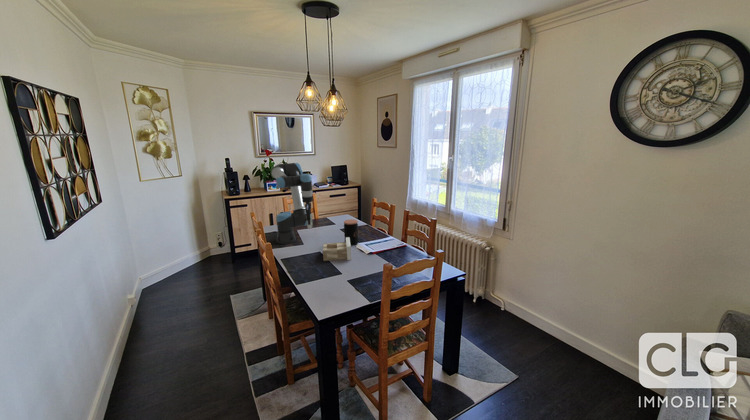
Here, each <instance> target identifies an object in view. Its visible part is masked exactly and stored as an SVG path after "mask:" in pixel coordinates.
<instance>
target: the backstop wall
mask: <svg viewBox="0 0 750 420" xmlns="http://www.w3.org/2000/svg"><path fill="white" fill-rule="evenodd" d="M346 247H347V259H346V260H347V261H352V245H351V244H350V237H346Z"/></svg>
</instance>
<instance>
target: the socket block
mask: <svg viewBox="0 0 750 420" xmlns="http://www.w3.org/2000/svg"><path fill="white" fill-rule="evenodd" d="M322 257H323V258H322V259H323V262H327V261H340V260H347V247H346V242H345V241H343V242H341V241H340V242H329V243H323V247H322Z"/></svg>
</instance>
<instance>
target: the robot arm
mask: <svg viewBox="0 0 750 420" xmlns="http://www.w3.org/2000/svg"><path fill="white" fill-rule="evenodd" d="M270 173H271V176H272V177H273V179H275V183H276V184H275V185H276V187H277V189H284V188H290V193H291V199H292V202H293V210H292V212H291V211H288V210H287V211H282V212H280V213H278V214H276V216H275V219H276V220H275V221H276V226H277V227H276V228H277V236H276V243H277V244H279V245H287V244H292V243H294V242H296V240H297V237H296V234H295V232H294V229H293V228H299V227H305V226H306V227H307V226H308V228H307V229H309V230H311V229H313V228H312V226H311V217H310V214H312V202H314V196H313V182H312V175H311V173H303V169H302V165H301V164H300V163H299V162H292V163H291V162H289V163H277V164H276V165H275V166H274V165H273V167H272V169H271V171H270ZM306 217H307V219H306Z"/></svg>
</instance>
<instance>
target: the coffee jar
mask: <svg viewBox="0 0 750 420" xmlns="http://www.w3.org/2000/svg"><path fill="white" fill-rule="evenodd" d="M343 232H344V233H343V234H344V242H346V237H350V244H351V246H357V245H358V244H359V243H360V242H359V224H358V220H357V219H346V220H344V221H343Z"/></svg>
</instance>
